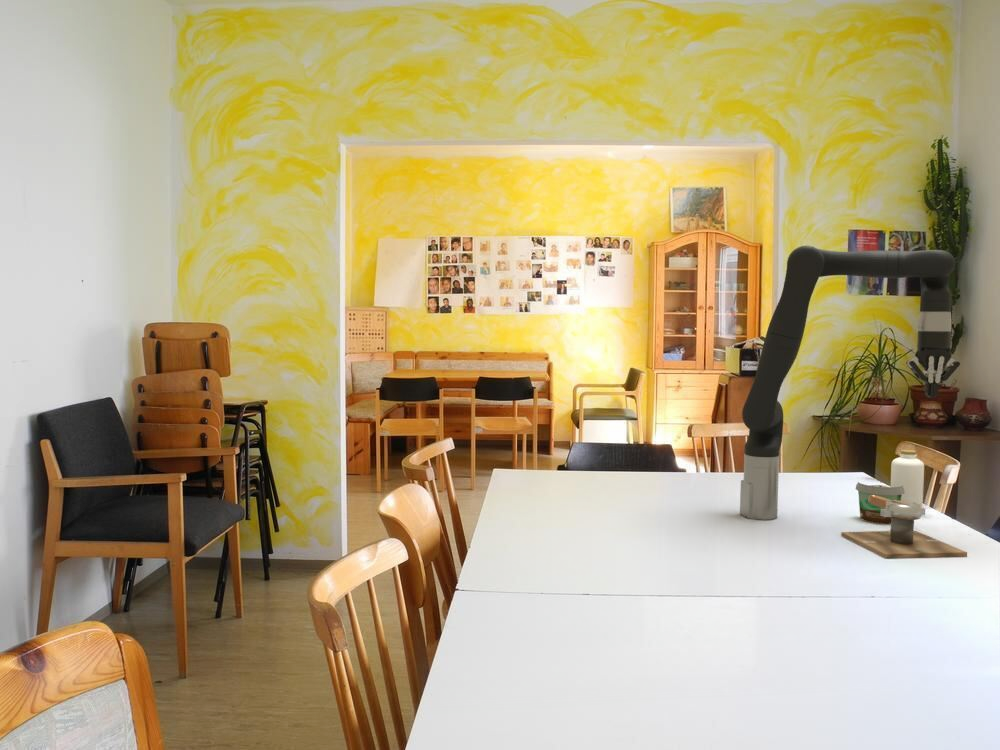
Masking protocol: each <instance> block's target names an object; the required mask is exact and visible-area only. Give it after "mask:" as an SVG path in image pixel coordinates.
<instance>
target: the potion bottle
mask: <svg viewBox="0 0 1000 750" xmlns="http://www.w3.org/2000/svg"><path fill="white" fill-rule="evenodd" d="M917 456H918V455H917V451H916V450H915V449H913V450H912V449H901V450H900V451H899V457H896V458H894V459H893V460H892V461H891V466H890V467H891V469H890V487H900V486H902V485H903V488H904V492H905V493H904V494H902V496H901V501H908V502H914V503H917V504H920V505H921V507H922V508H923V503H924V502H923V501H924V499H923V498H924V481H925V480H924V477H925V463H924V462H923V461H922V460H920V459H918V458H917Z"/></svg>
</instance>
